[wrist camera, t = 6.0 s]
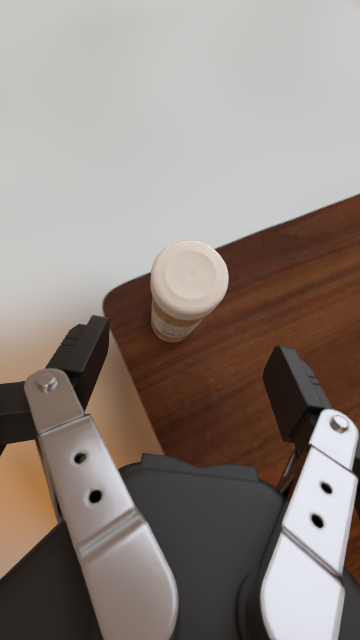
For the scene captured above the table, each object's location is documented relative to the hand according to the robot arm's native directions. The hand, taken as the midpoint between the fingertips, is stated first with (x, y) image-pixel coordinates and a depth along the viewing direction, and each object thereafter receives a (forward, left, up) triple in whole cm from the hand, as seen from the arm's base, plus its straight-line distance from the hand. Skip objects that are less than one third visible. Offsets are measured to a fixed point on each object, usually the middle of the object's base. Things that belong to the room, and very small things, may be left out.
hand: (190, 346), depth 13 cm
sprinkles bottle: (+2, +3, -15) cm, 16 cm away
